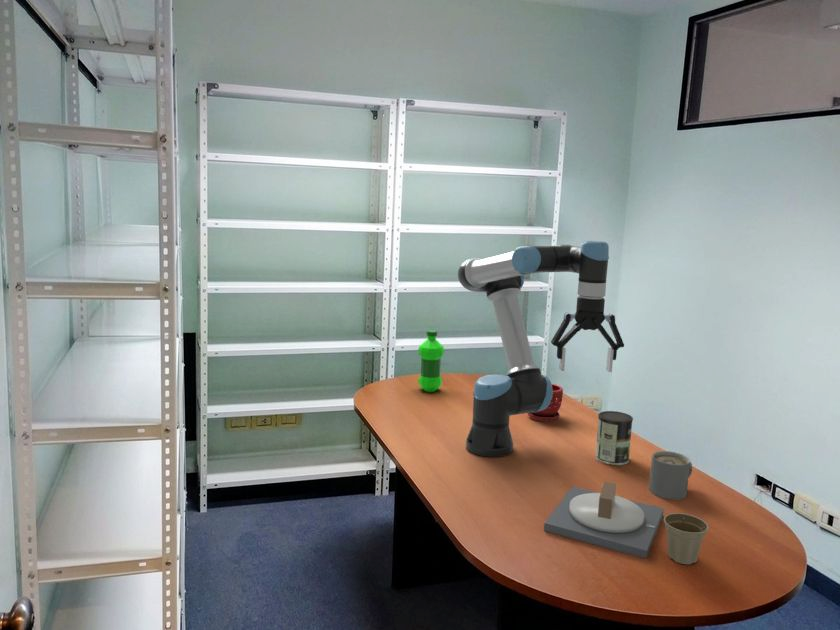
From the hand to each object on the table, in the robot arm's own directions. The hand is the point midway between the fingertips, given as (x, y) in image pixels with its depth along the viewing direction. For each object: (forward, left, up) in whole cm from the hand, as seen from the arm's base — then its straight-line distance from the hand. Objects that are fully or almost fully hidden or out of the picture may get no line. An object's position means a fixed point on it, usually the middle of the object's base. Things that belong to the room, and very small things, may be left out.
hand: (585, 370), depth 187 cm
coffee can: (+6, +18, -32) cm, 37 cm away
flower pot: (+33, -32, -32) cm, 56 cm away
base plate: (+14, -25, -32) cm, 43 cm away
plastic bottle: (-76, +51, -32) cm, 97 cm away
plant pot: (-25, +44, -32) cm, 60 cm away
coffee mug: (+26, +4, -32) cm, 41 cm away
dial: (+14, -25, -30) cm, 41 cm away
